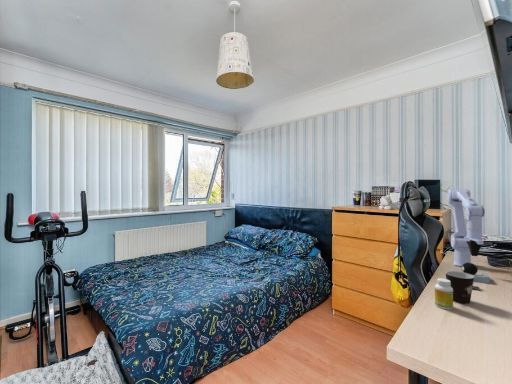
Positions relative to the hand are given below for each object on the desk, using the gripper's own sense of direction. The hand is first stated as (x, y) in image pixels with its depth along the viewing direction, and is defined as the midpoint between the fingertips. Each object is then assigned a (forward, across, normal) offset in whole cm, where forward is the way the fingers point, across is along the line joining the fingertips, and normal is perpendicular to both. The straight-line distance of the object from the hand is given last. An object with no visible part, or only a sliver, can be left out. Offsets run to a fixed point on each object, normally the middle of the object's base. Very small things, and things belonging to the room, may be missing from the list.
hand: (474, 255), depth 128 cm
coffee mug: (+9, +41, -20) cm, 46 cm away
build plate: (+10, +22, -10) cm, 26 cm away
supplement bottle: (+9, +49, -25) cm, 56 cm away
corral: (+9, +8, -4) cm, 13 cm away
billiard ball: (+10, +2, -2) cm, 10 cm away
